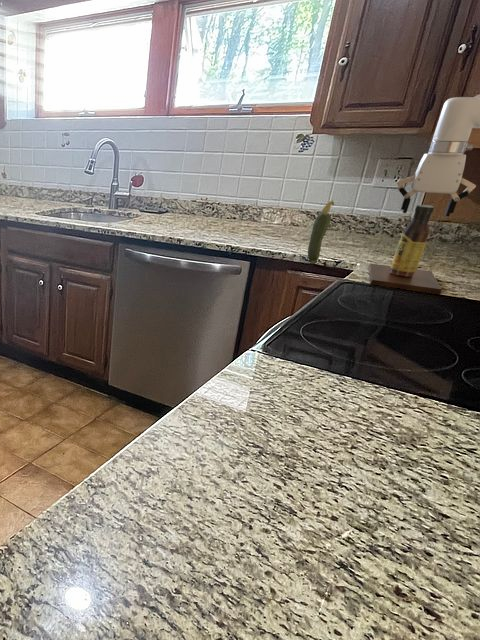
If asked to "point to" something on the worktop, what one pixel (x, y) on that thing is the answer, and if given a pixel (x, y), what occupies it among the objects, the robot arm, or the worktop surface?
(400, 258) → the sauce bottle
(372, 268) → the board
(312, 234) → the vegetable
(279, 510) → the worktop surface
